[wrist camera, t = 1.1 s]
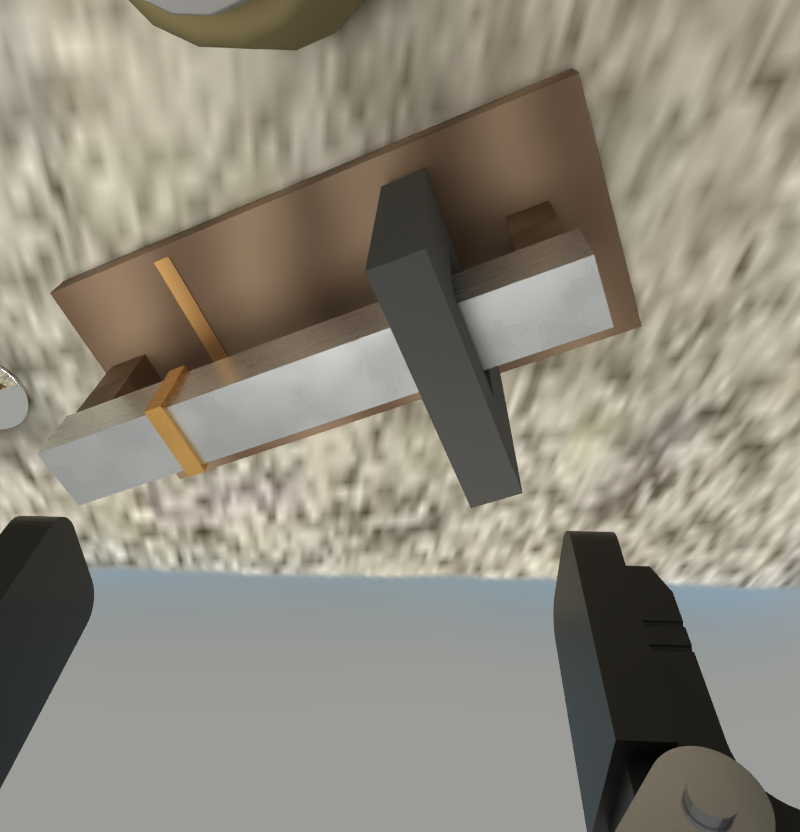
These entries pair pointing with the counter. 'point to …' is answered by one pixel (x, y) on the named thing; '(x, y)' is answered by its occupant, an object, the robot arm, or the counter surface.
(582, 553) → the robot arm
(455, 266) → the dark grey flat piece
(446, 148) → the board
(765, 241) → the counter surface
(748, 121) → the counter surface
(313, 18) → the squeeze bottle
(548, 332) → the grey square bar
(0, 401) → the wineglass
